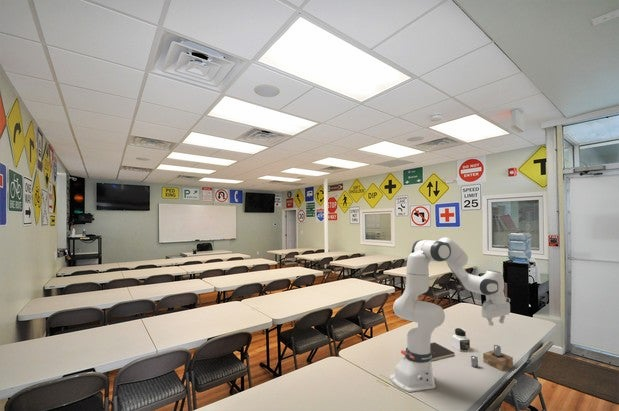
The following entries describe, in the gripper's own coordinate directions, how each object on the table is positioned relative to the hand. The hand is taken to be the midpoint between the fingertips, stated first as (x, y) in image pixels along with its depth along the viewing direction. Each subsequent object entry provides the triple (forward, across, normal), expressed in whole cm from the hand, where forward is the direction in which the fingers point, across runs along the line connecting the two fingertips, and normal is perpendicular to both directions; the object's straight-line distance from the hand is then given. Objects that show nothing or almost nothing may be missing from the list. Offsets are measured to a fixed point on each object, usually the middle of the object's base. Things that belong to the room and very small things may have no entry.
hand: (496, 324), depth 155 cm
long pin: (+22, 0, 0) cm, 22 cm away
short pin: (+22, -14, +4) cm, 27 cm away
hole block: (+22, 0, 0) cm, 22 cm away
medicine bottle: (+22, -1, +22) cm, 31 cm away
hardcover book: (+23, -24, +26) cm, 42 cm away
